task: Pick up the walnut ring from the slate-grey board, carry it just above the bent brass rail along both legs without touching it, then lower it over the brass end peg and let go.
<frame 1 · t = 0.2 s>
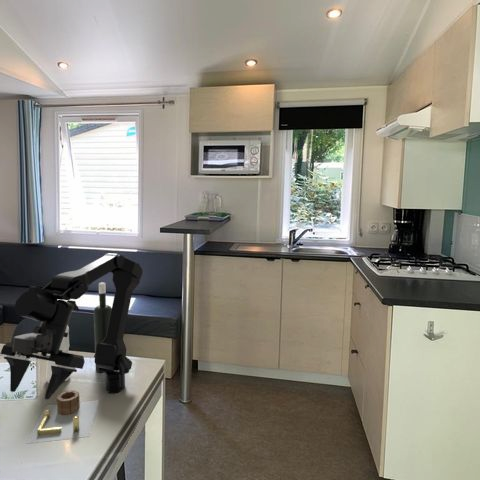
hand: (29, 395, 83), 14 cm above the table, tool tilted 30°, fingers open, 9 cm apart
bent rail: (52, 420, 95), on the slate board, point 1 cm above the table
slate board: (66, 422, 97), on the table
water bottle: (58, 382, 118), on the table
walnut ring: (68, 409, 101), point 1 cm above the table, touching slate board
end peg: (76, 433, 93), resting on slate board
wine bottle: (104, 370, 126), on the table
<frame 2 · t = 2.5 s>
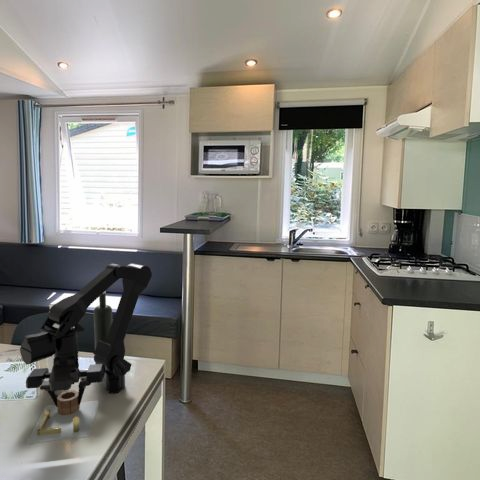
hand: (68, 405, 101), 2 cm above the table, tool pointing down, fingers closed on walnut ring, 5 cm apart
walnut ring: (68, 409, 101), point 1 cm above the table, touching gripper, slate board
everything else where it was.
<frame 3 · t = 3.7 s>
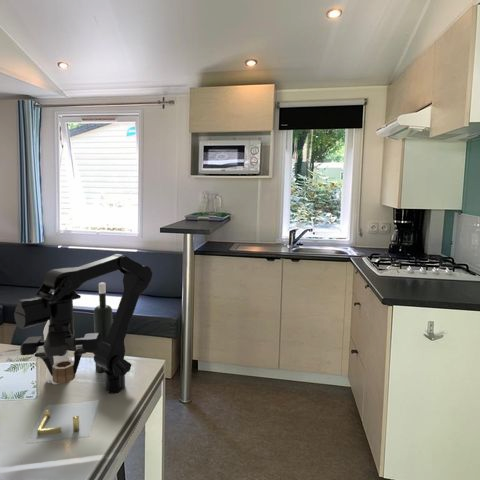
hand: (64, 374, 100), 11 cm above the table, tool pointing down, fingers closed on walnut ring, 5 cm apart
walnut ring: (64, 378, 100), point 10 cm above the table, touching gripper
everything else where it was.
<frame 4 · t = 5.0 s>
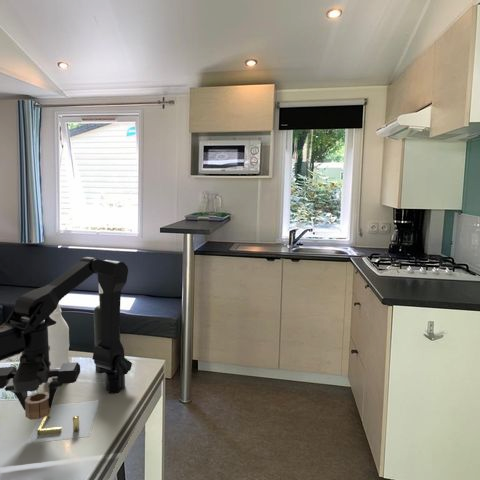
hand: (38, 408, 91), 7 cm above the table, tool pointing down, fingers closed on walnut ring, 5 cm apart
walnut ring: (38, 412, 91), point 6 cm above the table, touching gripper
everything else where it was.
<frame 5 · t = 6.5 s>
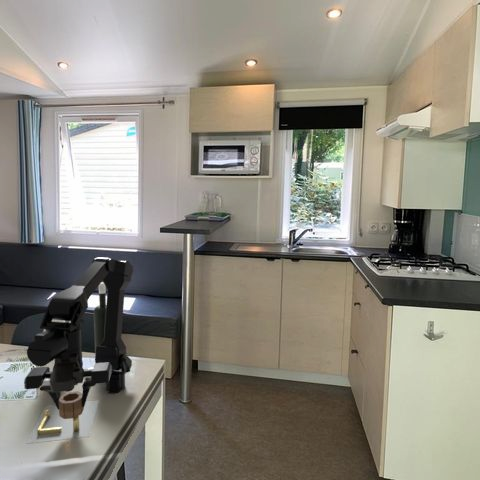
hand: (71, 407, 92), 7 cm above the table, tool pointing down, fingers closed on walnut ring, 5 cm apart
walnut ring: (71, 412, 92), point 6 cm above the table, touching gripper
everything else where it was.
when the fingers open (4 cm above the table, at t = 7.7 s): walnut ring drops 2 cm, resting on slate board.
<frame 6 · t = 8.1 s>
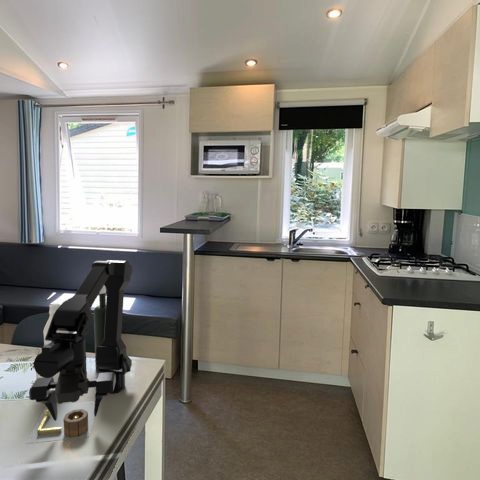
hand: (75, 417, 92), 4 cm above the table, tool pointing down, fingers open, 9 cm apart
walnut ring: (76, 430, 93), point 1 cm above the table, touching slate board
everything else where it was.
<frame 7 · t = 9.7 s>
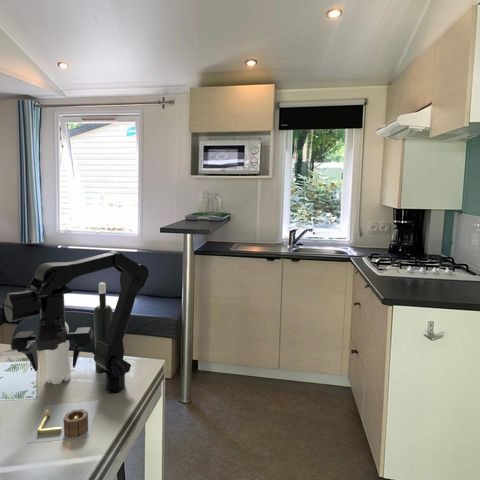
hand: (55, 368, 99), 13 cm above the table, tool pointing down, fingers open, 9 cm apart
nothing on the table moved.
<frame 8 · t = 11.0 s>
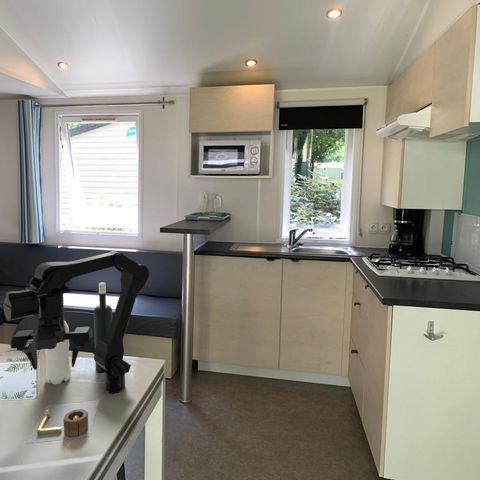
hand: (54, 367, 99), 13 cm above the table, tool pointing down, fingers open, 9 cm apart
nothing on the table moved.
at the end: walnut ring 0.0 cm off-centre on the end peg, point 0.8 cm above the end peg's base; walnut ring touching slate board; the gripper is holding nothing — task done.
